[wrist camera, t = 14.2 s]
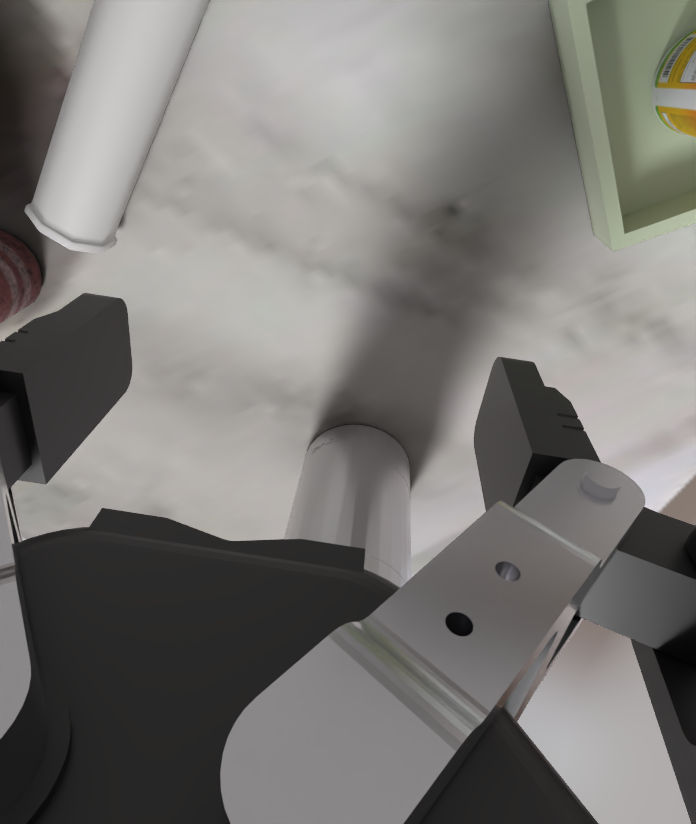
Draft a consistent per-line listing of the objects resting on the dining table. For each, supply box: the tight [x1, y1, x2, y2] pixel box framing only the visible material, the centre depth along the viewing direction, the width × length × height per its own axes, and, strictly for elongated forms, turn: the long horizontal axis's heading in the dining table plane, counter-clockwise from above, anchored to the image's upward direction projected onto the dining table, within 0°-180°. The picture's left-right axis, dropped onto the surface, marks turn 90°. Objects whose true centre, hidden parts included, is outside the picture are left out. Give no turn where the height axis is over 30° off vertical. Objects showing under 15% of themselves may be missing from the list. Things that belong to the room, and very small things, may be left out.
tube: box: [25, 0, 209, 254], centre depth 32 cm, size 5×5×25 cm
